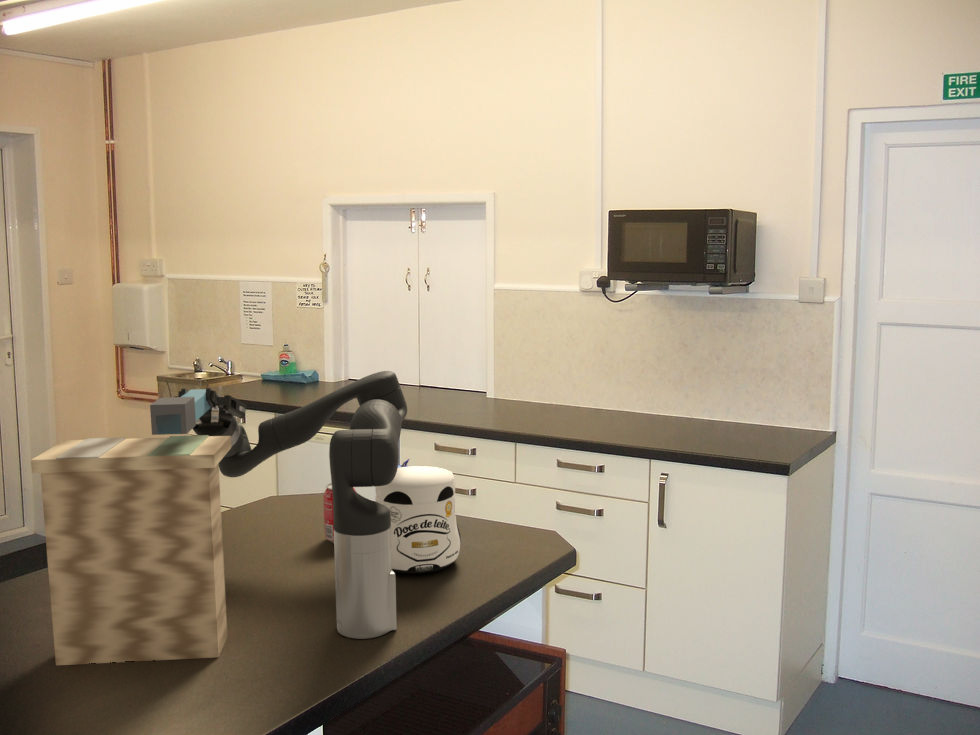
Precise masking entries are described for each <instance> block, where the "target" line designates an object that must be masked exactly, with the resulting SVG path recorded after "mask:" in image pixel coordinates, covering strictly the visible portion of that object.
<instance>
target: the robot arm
mask: <svg viewBox="0 0 980 735" xmlns="http://www.w3.org/2000/svg"><path fill="white" fill-rule="evenodd" d="M205 389H206V401H207V402H208V404H209V405H210V407H211V408H210V409H209V410H208V411H207V412H206V413H205V414H203V415H202V416H201V417H200V418H199V419H198V420H197V421H196V426H195V427H194V428H193V429H192V431H194V433H195V435H209V436H231V449H230V450H229V451H228V452H227V454H226V455H225V456H224V457H223V458H222V460H221V461H220V462H219V472H220V473H221V474H222V475H223V476H224V477H227V478H240V477H242V476H244V475H246V474H248V473H249V472H251V471H252V470H253V469H255V468H256V467H258V466H259V465H260V464H262V463H263V462H265V461H266V460H268V459H269V458H271V457H273V456H274V455H276V454H279V453H281V452H283V451H286V450H289V449H292V448H295V447H298V446H300V445H302V444H306V442H309V441H310V440H311V439H313V438H314V437H315V436H316V435H317V434H318V433H319V431H321V429H322V428H323V427H324V425H326V423H327V422H328V421H329V419H331V417H332V416H333V415H334V414H335V413H336V412H337V410H338V409H340V408H341V407H342V406H344V404H346V403H348V402H350V401H352V400H354V399H357V403H358V405H359V407H357V409H356V411H355V412H354V414H353V416H352V419H351V421H350V425H349V429H340V430H339V429H338V430H336V431H334V432H333V433H332V435H331V437H330V441H329V453H328V456H329V470H330V479H331V481H330V482H331V483H332V494H333V518H334V543H333V544H334V545H333V546H334V548H333V550H334V551H333V552H334V574H335V575H334V576H335V582H334V583H335V607H336V608H335V609H336V610H335V611H336V615H335V616H336V629H337V632H338V634H340V635H341V636H344V637H346V638H350V639H358V640H359V639H361V640H362V639H363V640H364V639H373V638H377V637H381V636H383V635H386V634H387V633H389V632H391V631H396V630H397V627H398V626H397V591H396V590H397V588H396V586H397V583H396V582H397V581H396V580H397V578H396V572H394V571H393V570H392V555H391V515H390V511H389V509H388V508H387V507H386V506H385V505H383V504H381V503H378V502H376V500H371V499H369V498H366V497H364V496H363V495H361V494H359V493H358V492H357V491H356V489H355V488H367V487H369V488H371V487H375V486H384V485H388V484H389V483H391V482H392V481H393V479H394V477H395V475H396V472H397V468H398V465H399V440H400V437H401V433H402V432H401V431H402V423H403V422H404V420H405V418H406V417H407V413H408V406H407V405H408V404H407V401H406V399H405V397H404V392H403V390H402V387H401V385H400V383H399V378H398V377H397V375H396V373H395V372H394V371H391V370H384V371H383V370H381V371H378V372H373V373H372V374H369V375H367V376H364V377H362V378H360V379H358V380H355V381H353V382H350V383H349V384H347V385H345V386H342V387H341V388H338V389H336V390H334V391H332V392H330V393H328V394H326V395H324V396H322V397H320V398H318V399H316V400H314V401H312V402H310V403H308V404H306V405H304V406H302V407H299V408H297V409H295V410H291V411H289V412H286V413H284V414H280V415H278V416H276V417H272V418H270V419H266V420H264V421H262V422H260V423H259V424H258V427H257V431H258V432H257V433H258V434H257V435H258V441H257V444H256V445H255V446H254V447H253V448H252V447H251V444H250V440H249V438H248V437H249V436H248V434H247V432H246V430H245V427H244V426H243V425H241V424H239V420H238V419H242V420H243V419H245V418H246V410H247V408H246V407H247V404H246V403H244V402H243V401H241V400H239V399H237V398H235V397H233V396H231V395H228V394H226V395H223V397H222V396H221V395H220V394H218V393H217V391H216V390H213V389H212V387H206V388H205ZM188 391H189V390H187V388H181V389H180V391H178V393H177V394H178V395H177V396H176V395H175V396H174V397H181V396H183V395H184V394H186V393H187V392H188ZM353 488H354V489H355V490H354V489H353Z"/></svg>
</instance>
